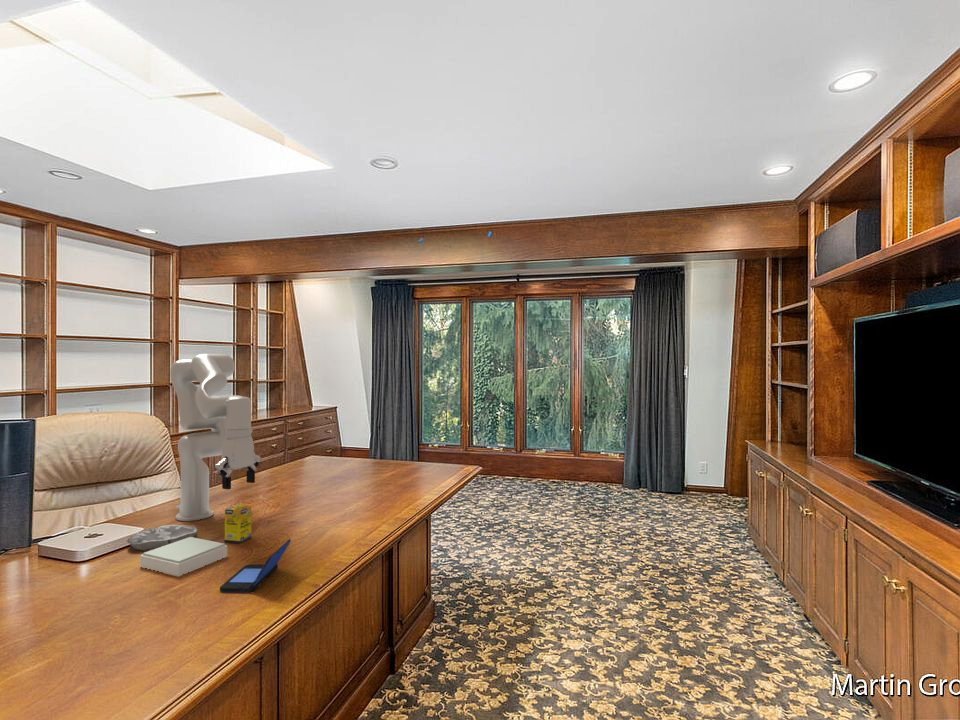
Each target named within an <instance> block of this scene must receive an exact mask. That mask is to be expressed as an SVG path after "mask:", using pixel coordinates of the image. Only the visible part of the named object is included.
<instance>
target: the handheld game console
mask: <svg viewBox="0 0 960 720" xmlns="http://www.w3.org/2000/svg"><path fill="white" fill-rule="evenodd" d="M291 539H292V538H289V539H288V540H287V541H286V542H285V543H283V544H282V545H281V546H280V547H279V548H278V549H277V550H276V551H274V553H273V554H272V555H271V556H269V557H268V558H267V560H266V561H265V563H264V564H261V563H259V564H258V563H255V564H253V563H251V564H250V563H249V564H246V565H244V566H242V567H241V568H240V569H239V570H238V571H237V572H236V573H234V575H232V576H231V577H230V578H228V579H227V580H226V581H225V582H224V583H223V584H222V585H221V586H220V587H219V591H220V592H221V593H250V592H253V593H255V590H256V591H257V589H259V587H260V586H261V585H262V584H263V582H264V581H265V580H266V579H265V578H267V577H268V578H269V577H270V576H271V575H273V574H274V572H275V571H277V569H278V563H279V561H280V560H281V558H282V557H283V555H284V553H285V551H286V550H287V549H288V547H289V545H290V544H291ZM268 578H267V579H268ZM264 579H265V580H264ZM259 585H260V586H259ZM258 586H259V587H258Z"/></svg>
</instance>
